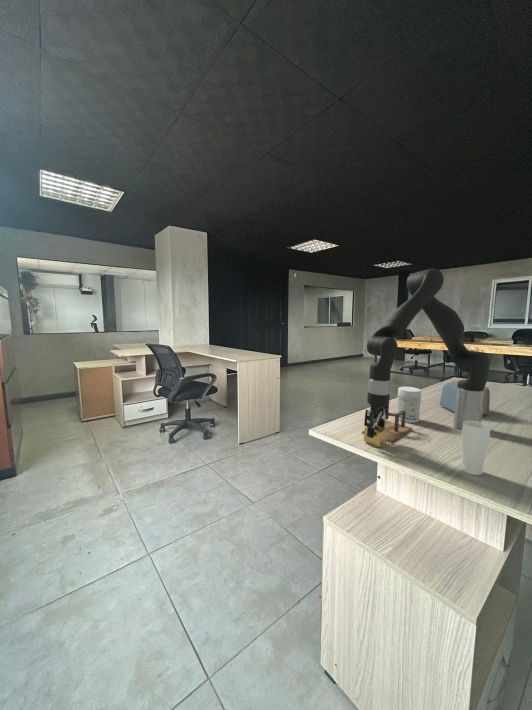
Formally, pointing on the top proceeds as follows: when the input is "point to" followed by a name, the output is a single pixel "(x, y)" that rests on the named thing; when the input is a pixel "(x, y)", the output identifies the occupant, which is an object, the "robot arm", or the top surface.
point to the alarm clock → (450, 397)
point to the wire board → (396, 427)
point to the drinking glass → (474, 446)
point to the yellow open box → (377, 436)
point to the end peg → (376, 445)
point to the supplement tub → (409, 403)
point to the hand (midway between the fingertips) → (375, 434)
